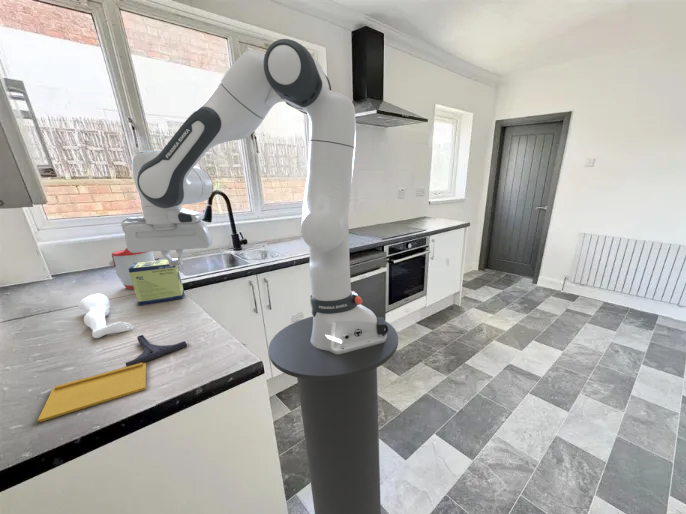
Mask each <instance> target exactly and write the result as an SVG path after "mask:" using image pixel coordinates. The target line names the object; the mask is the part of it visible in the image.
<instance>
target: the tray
mask: <svg viewBox="0 0 686 514" xmlns="http://www.w3.org/2000/svg"><path fill="white" fill-rule="evenodd" d="M146 389H147V362H144V363H143V362H142V363H138V364H135V365H131V366H124V367H120V368H117V369H113V370H109V371H106V372H105V371H104V372H102V373H98V374H95V375H91V376H87V377H84V378H81V379H77V380H73V381H69V382H65V383H62V384H58V385H55V386H54V387H52V389H51V392H50V393H49V396H48V398H47V400H46V402H45V404H44V406H43V408H42V411H41V412H40V415H39V416H38V419H37V422H38V423H42V422H45V421H48V420H51V419H55V418H58V417H62V416H64V415H67V414H71V413H74V412H78V411H80V410H84V409H87V408H90V407H93V406H96V405H97V406H98V405H99V404H103V403H106V402H109V401H114V400H116V399H119V398H121V397H125V396H129V395H131V394H135V393H138V392H141V391H144V390H146Z"/></svg>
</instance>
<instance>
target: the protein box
mask: <svg viewBox="0 0 686 514" xmlns="http://www.w3.org/2000/svg"><path fill="white" fill-rule="evenodd" d="M173 259H177V258H173ZM129 273H130V276H131V280H132V283H133V287H134V290H133V291H134V293H135V296H136V301H137V304H138V306H142V305H143V306H144V305H149V304H156V303H163V302H168V301H174V300H175V301H176V300H181V299H184V293H185V290H184V286H183V282H182V278H181V274H180V273H181V272H180V269H179V265H178V266H170V265H169V262H168V260H167V259H166V258H165V259H158V260H155V261H148V262H138V263H133V265H132V266H131V267H130V268H129Z"/></svg>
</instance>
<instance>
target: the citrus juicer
mask: <svg viewBox="0 0 686 514" xmlns="http://www.w3.org/2000/svg"><path fill="white" fill-rule="evenodd" d="M111 258H112V260H110V261H109V262H108V267H112V266H114V269H115V273H116V275H117V277H118V279H119V281H120V282H121V283H122V285H123V286H124V287H125V289H127V290H131V291H135V290H134V287H133V283H132V280H131V276H130V273H129V268H130V267H131V266H132V265H133V263H138V262H148V261H156V260H155V259H156V258H155V255H154V251H152V252H136V253H132V252H130V251H129V250H128V249H127V247H126V248H125V249H123V250H117V251H114V252H111Z"/></svg>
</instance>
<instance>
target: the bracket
mask: <svg viewBox="0 0 686 514" xmlns="http://www.w3.org/2000/svg"><path fill="white" fill-rule="evenodd" d="M136 339H137V342H138V343H139V344H140V346H142V347H143V348H144V349H143V351H142V353H140V354H139V355H138V356H137V357H135V358H134V359H132V360H128V361H126V362H125V367H127V366H131V365H135V364H138V363H142V362H143V364H144V363H147V362H149V361H151V360H154V359H157V358H159V357H162V356H164V355H167V354H170V353H172V352H174V351H178V350H180V349H182V348H186V347H187V345H188V344H187V342H186V341H185V340H183V341H181V342H178V343H175V344H166V345H158V344H153V343H151V342H150V341H148V339H147V338H146V337H145V336H144V335H143V334H141V335H137V337H136Z"/></svg>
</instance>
